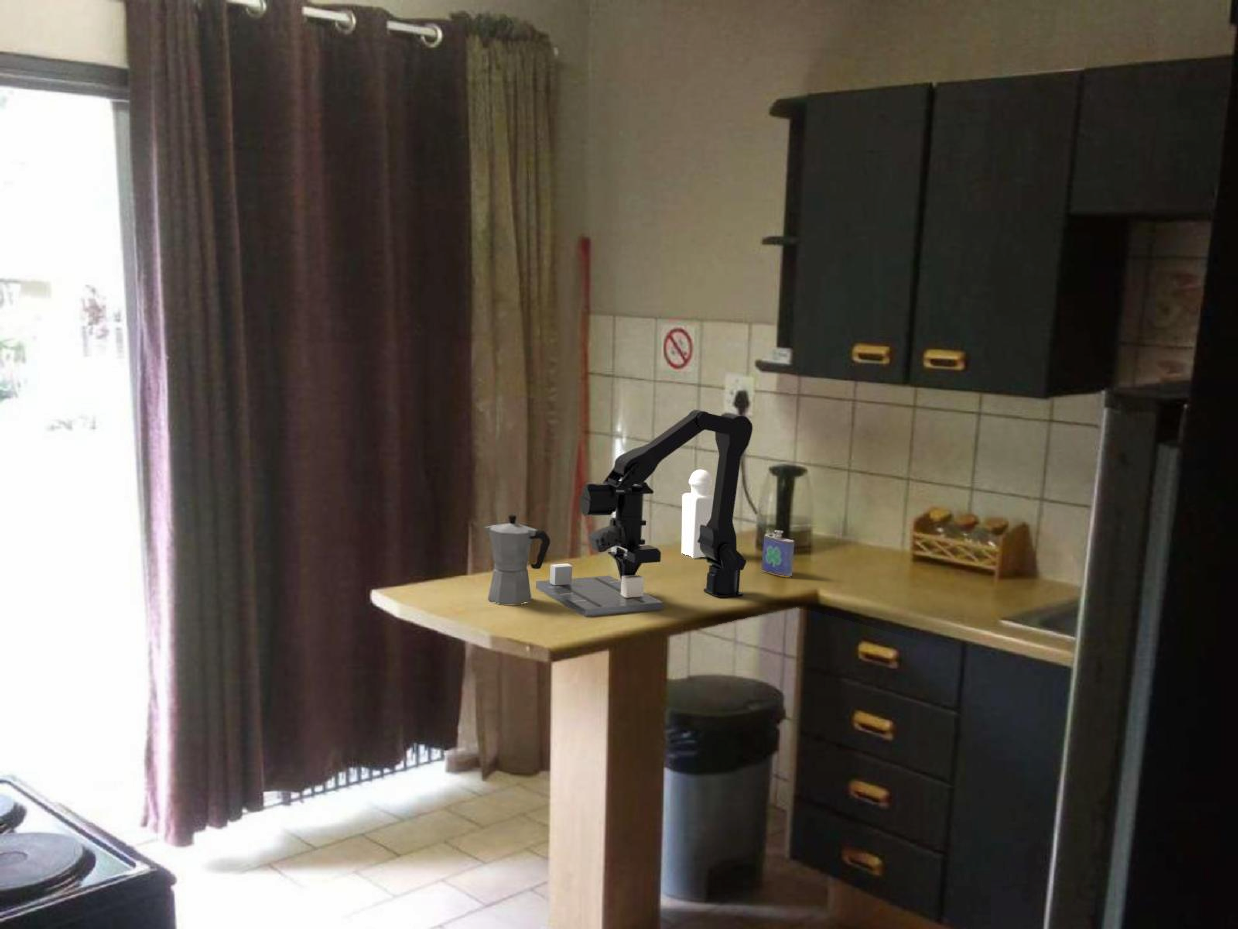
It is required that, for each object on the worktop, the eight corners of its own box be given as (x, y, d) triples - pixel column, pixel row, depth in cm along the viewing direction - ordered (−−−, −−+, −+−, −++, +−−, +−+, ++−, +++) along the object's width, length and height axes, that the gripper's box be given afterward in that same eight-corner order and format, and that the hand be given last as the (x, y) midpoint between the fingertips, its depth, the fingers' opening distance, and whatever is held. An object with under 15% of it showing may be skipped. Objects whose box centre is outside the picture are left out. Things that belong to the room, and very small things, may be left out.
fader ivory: (637, 593, 242) (638, 574, 241) (643, 596, 240) (644, 577, 239) (620, 594, 240) (621, 575, 239) (626, 597, 238) (627, 578, 237)
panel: (608, 582, 257) (609, 575, 257) (663, 609, 237) (663, 601, 236) (535, 588, 249) (536, 580, 249) (585, 616, 228) (585, 608, 228)
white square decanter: (692, 559, 285) (697, 472, 282) (678, 553, 291) (683, 468, 288) (714, 557, 288) (719, 471, 285) (699, 552, 294) (704, 467, 291)
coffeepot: (470, 599, 237) (473, 514, 234) (493, 590, 245) (496, 507, 243) (536, 611, 230) (539, 523, 228) (557, 601, 239) (561, 516, 237)
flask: (794, 577, 271) (797, 533, 269) (785, 579, 269) (788, 534, 267) (766, 569, 278) (769, 526, 276) (757, 571, 276) (760, 527, 274)
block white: (566, 581, 249) (567, 563, 249) (571, 584, 247) (572, 565, 246) (549, 582, 247) (550, 564, 247) (554, 585, 245) (555, 566, 244)
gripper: (575, 508, 244) (571, 579, 247) (615, 525, 228) (612, 601, 230) (620, 505, 250) (617, 575, 252) (664, 522, 233) (660, 596, 236)
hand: (625, 587), depth 242 cm, fingers closed
